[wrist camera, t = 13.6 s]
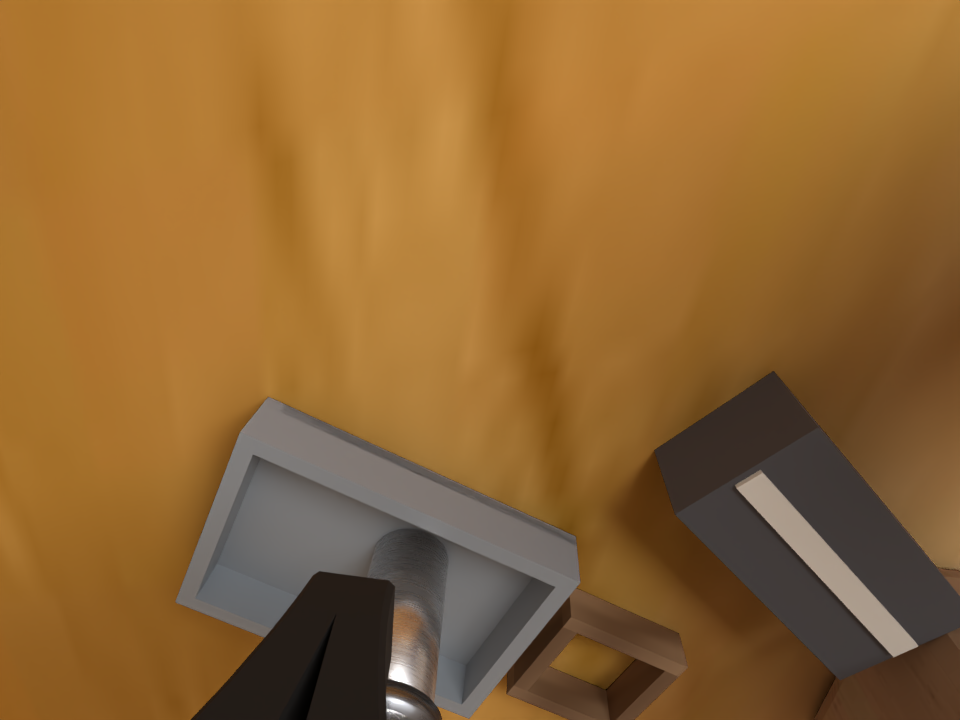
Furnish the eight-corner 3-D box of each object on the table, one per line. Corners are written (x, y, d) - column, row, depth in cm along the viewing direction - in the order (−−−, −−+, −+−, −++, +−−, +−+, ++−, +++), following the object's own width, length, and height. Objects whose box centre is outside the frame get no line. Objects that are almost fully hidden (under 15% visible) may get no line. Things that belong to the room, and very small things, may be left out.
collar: (679, 633, 24) (688, 667, 22) (610, 703, 26) (615, 738, 24) (568, 585, 23) (571, 617, 22) (507, 660, 25) (506, 694, 24)
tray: (575, 536, 22) (580, 582, 20) (473, 668, 26) (469, 718, 24) (268, 396, 20) (240, 432, 18) (204, 558, 24) (175, 602, 22)
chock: (912, 537, 21) (982, 623, 18) (797, 596, 23) (841, 684, 20) (770, 367, 19) (821, 430, 16) (652, 446, 20) (676, 517, 17)
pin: (475, 559, 22) (467, 745, 16) (414, 608, 23) (383, 801, 17) (407, 505, 21) (369, 678, 15) (346, 558, 22) (286, 742, 16)
